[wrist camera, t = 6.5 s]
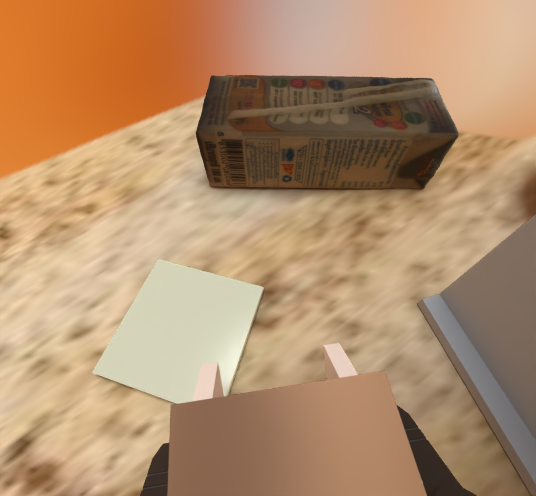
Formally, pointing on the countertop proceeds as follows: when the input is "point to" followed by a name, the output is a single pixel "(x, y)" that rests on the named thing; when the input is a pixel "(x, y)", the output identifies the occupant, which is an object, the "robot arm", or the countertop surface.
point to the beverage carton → (323, 132)
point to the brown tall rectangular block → (294, 442)
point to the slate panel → (497, 341)
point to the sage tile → (181, 332)
